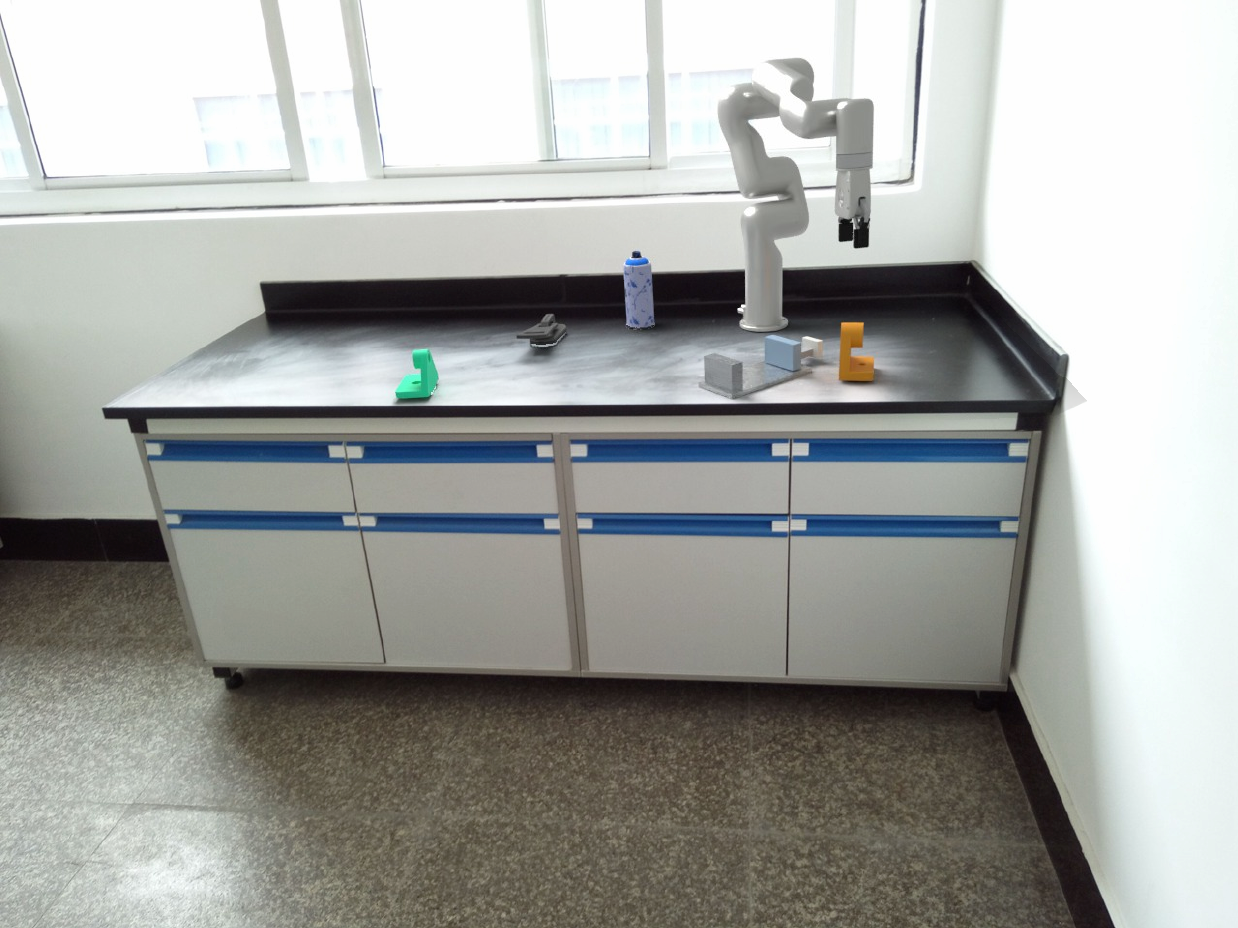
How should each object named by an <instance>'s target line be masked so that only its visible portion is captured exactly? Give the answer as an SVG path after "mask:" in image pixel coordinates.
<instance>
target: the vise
mask: <svg viewBox="0 0 1238 928" xmlns="http://www.w3.org/2000/svg"><path fill="white" fill-rule="evenodd" d="M703 359H704V360H703V367H704V380H701V381H699V382H698V388H701V387H702V389H704V390H706V391H709V390H710V392H712V393H715V394H717V393H718V395H720V394H721V396H723V395H724V397H725V396H727V397H726V398H728V397H730V398H734V399H736V398H735V397H737V398H739V397H742V396H745V395H748V394H751V393H753V392H757V391H761V390H763V389H766V388H769V387H771V386H774V385H777V384H780V383H783V382H786V381H789V380H793V379H795V378H798V377H801V376H804V375H806V374H810V373H812V372H813V367H811V366H807V365H804V364H802V363H801V369H798V370H795V371H791V370H788V369H784V368H781V367H778V366H775V365H772V364H769V363H766V362H765V360H764V361H760V362H757V363H754V364H751V365H748V366H746V367H743V366H744V365H743V361H740V360H737V359H734V358H731V357H729V356H725V355H722V354H718V353H716V352H713V353H711V354H706V355H703ZM730 398H729V399H730Z"/></svg>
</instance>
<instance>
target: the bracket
mask: <svg viewBox="0 0 1238 928" xmlns="http://www.w3.org/2000/svg"><path fill="white" fill-rule="evenodd" d="M864 323H865V322H841V323H840V324H841V325H840V340H839V341H840V342H839V343H840V344H839V362H838V364H839V365H838V381H858V382H864V381H865V382H866V381H867V382H871V381H874V374H875V372H874V371H875V358H874V356H852V349H853V348H856V349H857V348H859V349H863V346H864V345H863V343H864V326H865V324H864Z"/></svg>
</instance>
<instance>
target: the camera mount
mask: <svg viewBox="0 0 1238 928" xmlns="http://www.w3.org/2000/svg"><path fill="white" fill-rule="evenodd" d="M412 364H413V368H414V369H415V370H420V373H415V374H413V373H412V374H407V375H405V376H403V378H402V380H401V381H400V383H399V384H398V386H397V388H396V389H395V391H394V392H395V397H396V399H397V398H402V399H414V398H415V399H416V398H429V397H430V396H431V395H430V394H431V392H433V390H434V388H435V386H436V387H437V383H438V381H439V373H438V370H437V367H436V365H435V362H434V358H433V356H432V353H431V350H430V349H429V348H424V349H423V348H421V349H413V351H412Z"/></svg>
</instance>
